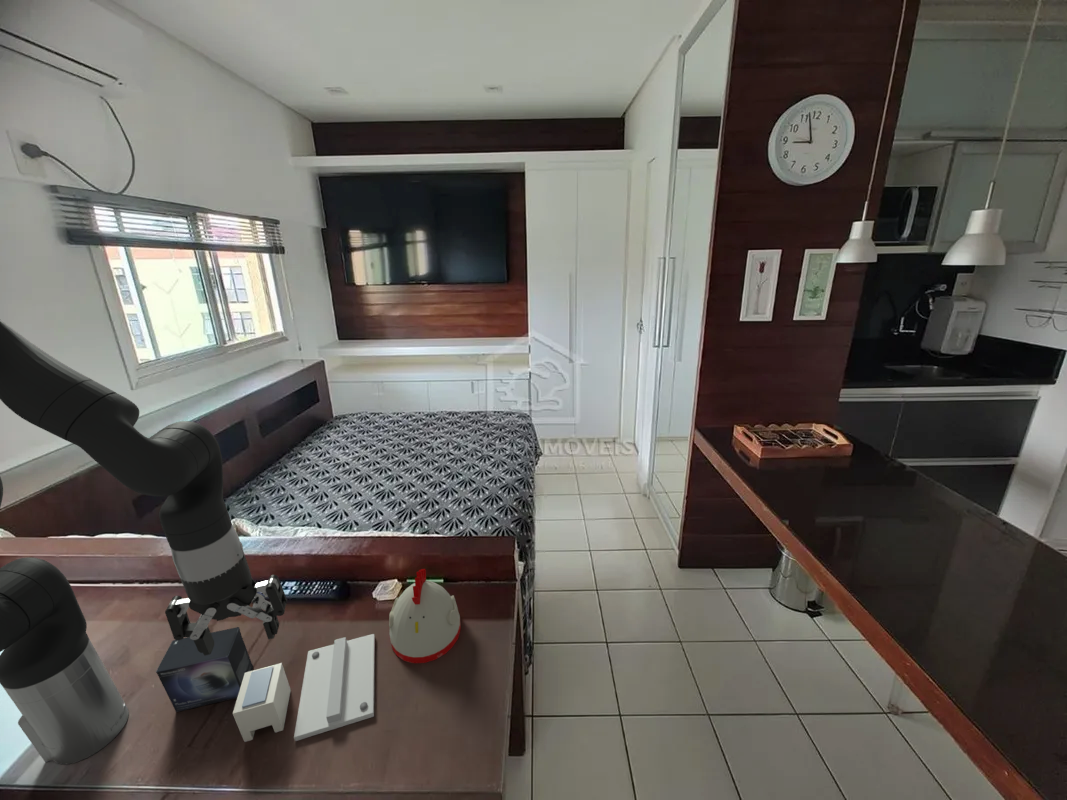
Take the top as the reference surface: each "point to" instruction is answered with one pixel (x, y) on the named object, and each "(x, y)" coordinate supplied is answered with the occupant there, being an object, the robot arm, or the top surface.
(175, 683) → the small box
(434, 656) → the kitchen timer
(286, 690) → the block
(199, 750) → the top surface
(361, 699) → the mounting plate
